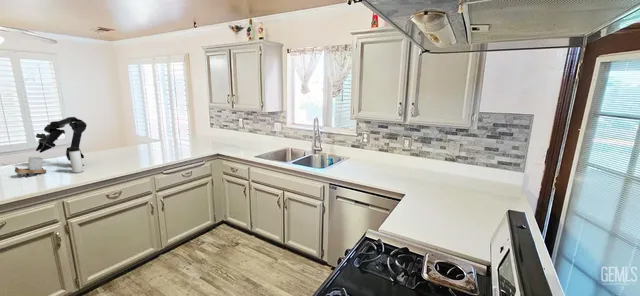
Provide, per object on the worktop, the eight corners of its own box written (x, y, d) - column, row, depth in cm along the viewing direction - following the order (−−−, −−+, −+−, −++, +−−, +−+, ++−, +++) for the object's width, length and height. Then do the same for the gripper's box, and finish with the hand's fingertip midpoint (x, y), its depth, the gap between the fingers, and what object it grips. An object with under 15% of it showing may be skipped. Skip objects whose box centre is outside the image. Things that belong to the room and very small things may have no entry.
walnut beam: (42, 171, 211) (43, 166, 210) (45, 173, 206) (46, 168, 206) (14, 172, 198) (15, 167, 198) (17, 174, 194) (18, 168, 194)
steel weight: (39, 169, 208) (40, 157, 208) (41, 170, 205) (42, 158, 204) (27, 169, 203) (28, 157, 203) (30, 170, 200) (31, 158, 199)
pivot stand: (42, 171, 212) (41, 168, 211) (47, 173, 206) (46, 170, 205) (16, 175, 200) (15, 172, 200) (20, 178, 194) (19, 175, 194)
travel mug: (86, 171, 213) (81, 145, 209) (78, 173, 207) (73, 147, 203) (78, 170, 214) (74, 145, 210) (70, 173, 207) (65, 147, 203)
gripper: (39, 128, 222) (22, 144, 215) (46, 130, 212) (29, 147, 205) (54, 136, 230) (38, 152, 223) (62, 139, 220) (46, 155, 213)
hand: (38, 151), depth 216 cm, fingers open, 9 cm apart
